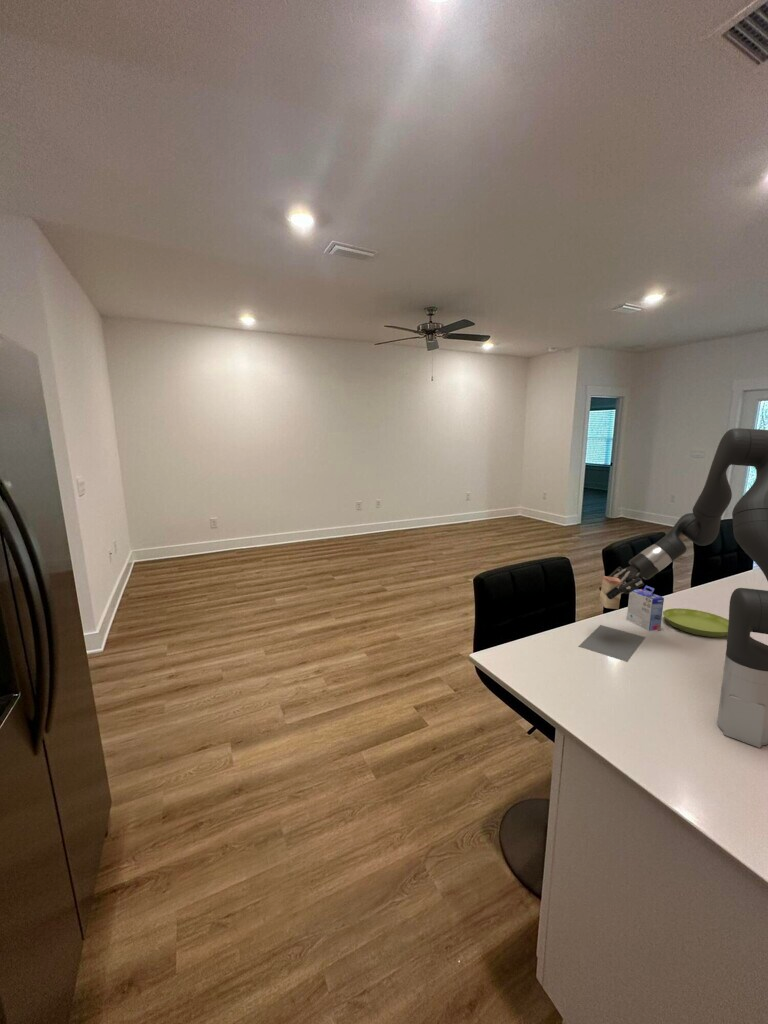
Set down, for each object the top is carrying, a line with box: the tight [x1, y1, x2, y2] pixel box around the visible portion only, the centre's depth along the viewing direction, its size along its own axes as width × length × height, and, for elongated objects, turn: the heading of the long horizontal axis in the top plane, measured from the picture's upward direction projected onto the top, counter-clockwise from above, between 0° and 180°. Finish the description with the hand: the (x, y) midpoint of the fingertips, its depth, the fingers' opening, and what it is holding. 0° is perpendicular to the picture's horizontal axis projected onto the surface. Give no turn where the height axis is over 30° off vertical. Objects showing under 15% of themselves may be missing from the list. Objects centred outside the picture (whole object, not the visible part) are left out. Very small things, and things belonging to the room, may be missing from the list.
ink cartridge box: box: [625, 584, 665, 632], centre depth 146 cm, size 10×6×14 cm, turn 15°
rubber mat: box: [578, 624, 646, 663], centre depth 135 cm, size 22×14×1 cm, turn 136°
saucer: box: [662, 607, 729, 638], centre depth 146 cm, size 21×21×3 cm
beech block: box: [598, 575, 622, 610], centre depth 132 cm, size 4×5×9 cm
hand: (604, 593), depth 132 cm, fingers closed on beech block, 5 cm apart
